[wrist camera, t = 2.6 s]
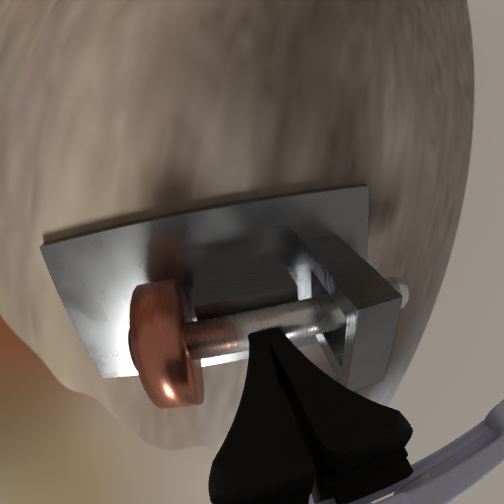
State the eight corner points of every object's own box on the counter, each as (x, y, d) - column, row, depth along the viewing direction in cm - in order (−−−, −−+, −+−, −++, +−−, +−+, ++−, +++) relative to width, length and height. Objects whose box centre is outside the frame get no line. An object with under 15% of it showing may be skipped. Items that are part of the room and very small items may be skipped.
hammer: (374, 304, 18) (424, 364, 13) (159, 351, 17) (155, 433, 12) (382, 219, 16) (452, 266, 11) (127, 265, 14) (98, 344, 9)
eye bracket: (356, 325, 20) (404, 395, 14) (104, 372, 18) (89, 454, 12) (364, 183, 15) (449, 227, 9) (43, 243, 14) (-20, 314, 7)
